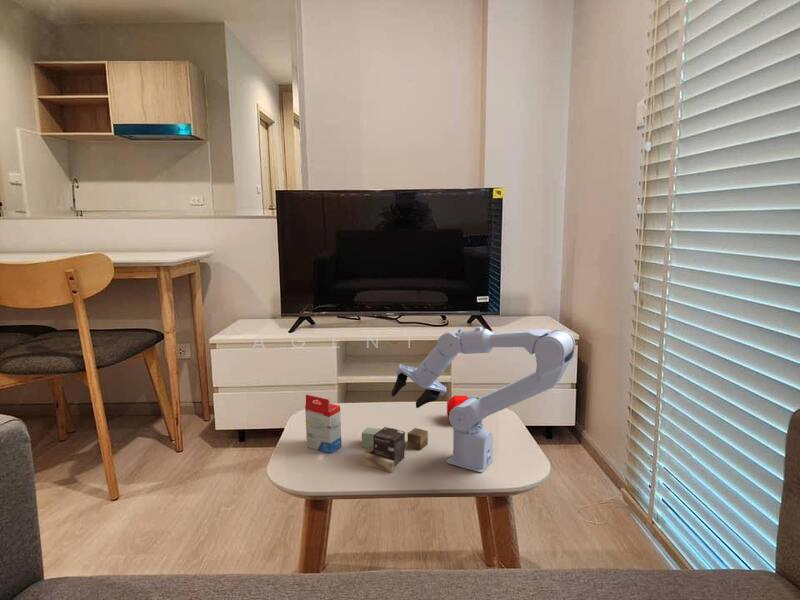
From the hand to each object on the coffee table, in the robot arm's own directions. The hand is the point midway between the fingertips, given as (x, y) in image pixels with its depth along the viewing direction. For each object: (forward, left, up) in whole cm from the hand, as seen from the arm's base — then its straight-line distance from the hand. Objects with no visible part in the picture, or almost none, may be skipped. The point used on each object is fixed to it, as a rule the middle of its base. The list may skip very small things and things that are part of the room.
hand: (404, 399), depth 128 cm
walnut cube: (-4, 0, -12) cm, 13 cm away
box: (-2, +11, -13) cm, 17 cm away
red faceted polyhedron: (-7, -21, -13) cm, 26 cm away
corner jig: (-2, +11, -12) cm, 16 cm away
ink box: (+17, +14, -13) cm, 25 cm away
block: (+7, +6, -12) cm, 15 cm away
